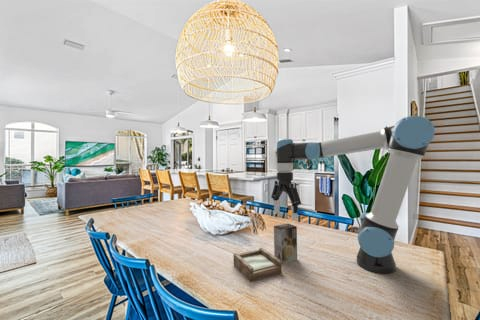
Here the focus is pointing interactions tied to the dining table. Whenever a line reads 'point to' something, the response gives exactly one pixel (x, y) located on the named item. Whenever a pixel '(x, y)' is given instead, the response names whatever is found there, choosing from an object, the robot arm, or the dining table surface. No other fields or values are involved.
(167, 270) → the dining table surface
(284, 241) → the coffee box
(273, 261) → the wooden tray
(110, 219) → the dining table surface
